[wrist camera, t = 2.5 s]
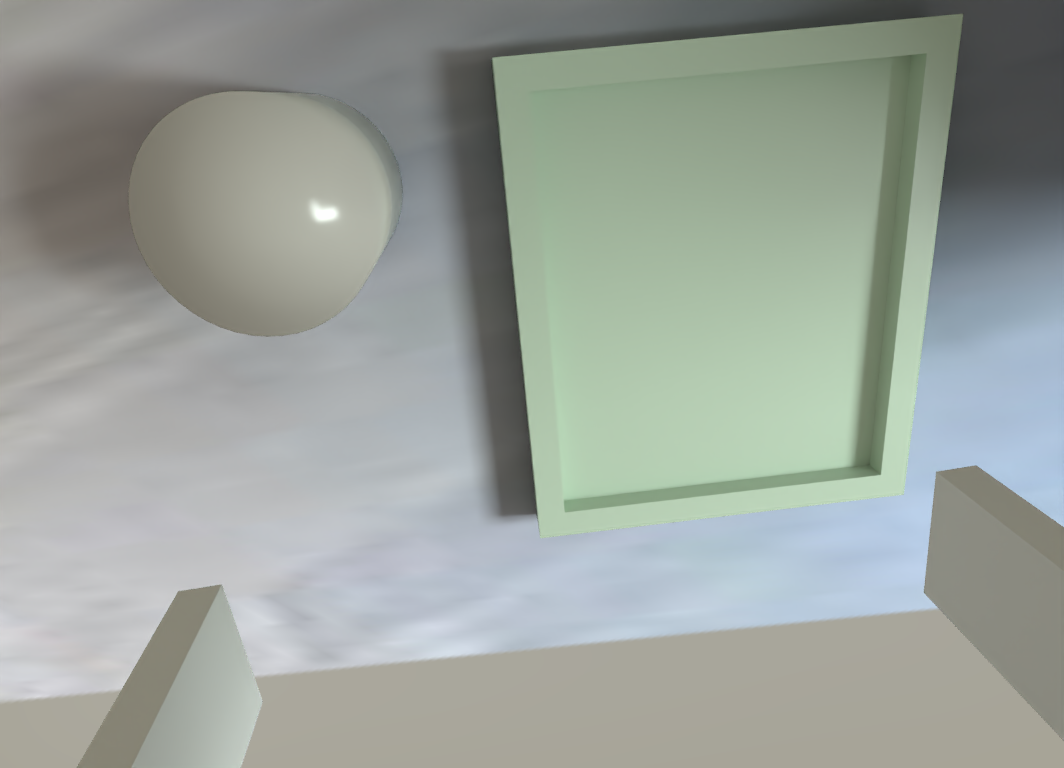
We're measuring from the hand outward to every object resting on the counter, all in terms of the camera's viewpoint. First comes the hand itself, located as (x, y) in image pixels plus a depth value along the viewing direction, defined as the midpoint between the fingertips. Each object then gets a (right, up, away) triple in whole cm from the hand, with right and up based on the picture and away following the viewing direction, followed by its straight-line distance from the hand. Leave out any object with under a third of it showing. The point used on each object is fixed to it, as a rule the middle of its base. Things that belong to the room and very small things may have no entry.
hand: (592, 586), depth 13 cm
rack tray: (+7, +8, +18) cm, 20 cm away
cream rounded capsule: (-10, +11, +15) cm, 21 cm away
